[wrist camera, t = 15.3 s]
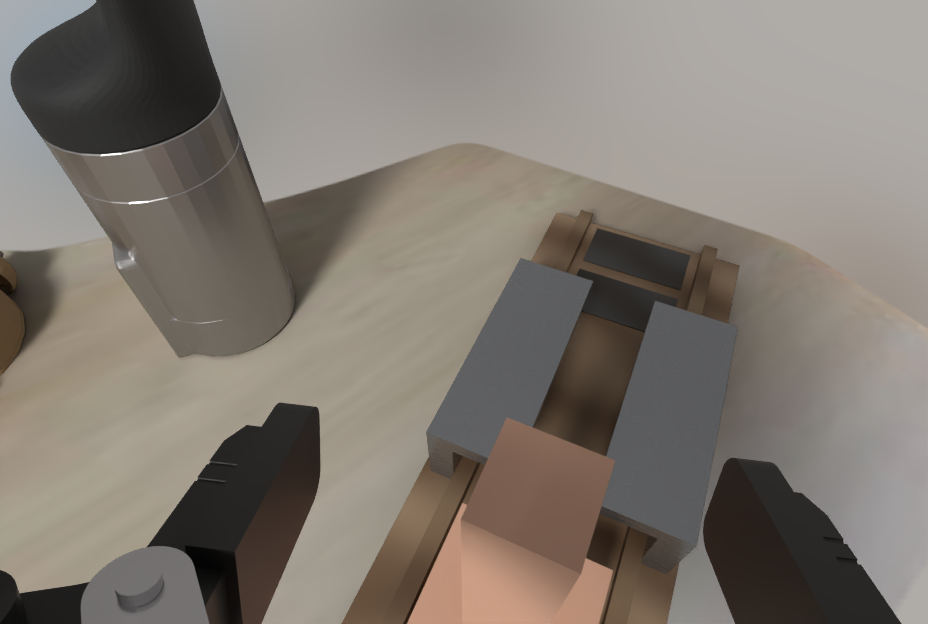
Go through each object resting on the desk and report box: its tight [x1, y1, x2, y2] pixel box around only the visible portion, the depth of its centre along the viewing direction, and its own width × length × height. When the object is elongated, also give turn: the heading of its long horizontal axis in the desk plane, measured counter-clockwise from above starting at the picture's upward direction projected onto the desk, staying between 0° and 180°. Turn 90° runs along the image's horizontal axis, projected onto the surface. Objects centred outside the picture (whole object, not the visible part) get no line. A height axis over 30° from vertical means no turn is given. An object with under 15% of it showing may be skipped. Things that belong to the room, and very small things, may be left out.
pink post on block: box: [407, 418, 615, 624], centre depth 21 cm, size 8×8×18 cm
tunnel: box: [426, 258, 738, 574], centre depth 34 cm, size 14×14×5 cm
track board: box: [342, 210, 739, 624], centre depth 36 cm, size 36×15×2 cm, turn 156°
